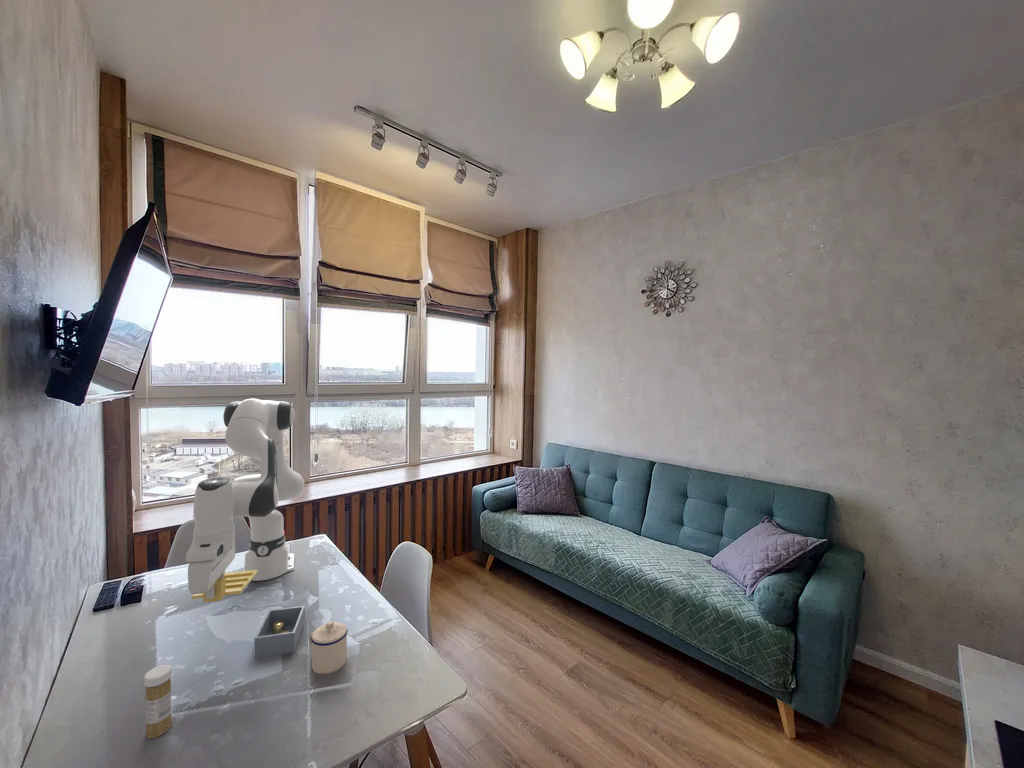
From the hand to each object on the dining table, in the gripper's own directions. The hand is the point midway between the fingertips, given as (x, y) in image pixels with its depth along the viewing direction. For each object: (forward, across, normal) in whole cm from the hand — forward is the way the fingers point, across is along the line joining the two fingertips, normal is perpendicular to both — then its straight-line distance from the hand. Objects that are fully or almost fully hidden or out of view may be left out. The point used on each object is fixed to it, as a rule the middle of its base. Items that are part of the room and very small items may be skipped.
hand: (214, 592), depth 110 cm
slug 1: (+20, -12, +12) cm, 27 cm away
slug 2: (+20, -6, +15) cm, 26 cm away
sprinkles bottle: (+21, +18, -4) cm, 28 cm away
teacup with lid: (+21, +4, +28) cm, 35 cm away
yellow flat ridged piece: (+2, -7, 0) cm, 8 cm away
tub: (+21, -9, +14) cm, 27 cm away
